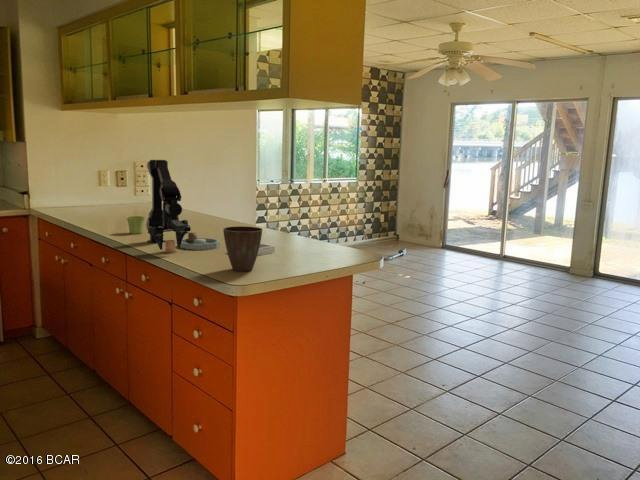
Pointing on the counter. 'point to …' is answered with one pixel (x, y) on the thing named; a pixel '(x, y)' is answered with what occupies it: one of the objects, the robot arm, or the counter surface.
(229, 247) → the plant pot
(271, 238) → the counter surface
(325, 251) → the counter surface
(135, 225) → the plant pot
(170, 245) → the brown egg
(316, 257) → the counter surface
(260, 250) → the mug coaster frame
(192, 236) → the brown rounded short cylinder
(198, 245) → the groove tray
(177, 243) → the robot arm
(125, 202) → the counter surface
